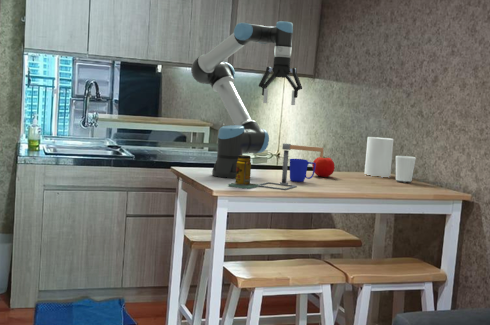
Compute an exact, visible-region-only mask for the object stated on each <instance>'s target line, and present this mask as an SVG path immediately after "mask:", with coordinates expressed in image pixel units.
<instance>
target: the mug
mask: <svg viewBox="0 0 490 325" xmlns="http://www.w3.org/2000/svg"><path fill="white" fill-rule="evenodd" d="M310 164H311V165H312V164H314V169H313V168H312V170H313V171H312V174H311V176H309V177H308V176H307V170H308V165H310ZM315 166H316V163H313V162H312V161H311V162H310V161H309V160H308V159H303V158H289V180H290V181H291V182H295V183H296V182H297V183H301V182H304V181H305V180H306V179H308V180H310V179H312V178H313V177H314V174H315V173H314V172H315Z"/></svg>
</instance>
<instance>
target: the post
mask: <svg viewBox="0 0 490 325" xmlns="http://www.w3.org/2000/svg"><path fill="white" fill-rule="evenodd" d="M283 150H284V149H283ZM289 152H290V150H284V151H283V160H282V174H281V181H280V182H279V184H287V185H289V182H287V180H288V178H287V176H288V167H289V164H288V163H289V154H290V153H289Z"/></svg>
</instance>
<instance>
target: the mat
mask: <svg viewBox="0 0 490 325" xmlns="http://www.w3.org/2000/svg"><path fill="white" fill-rule="evenodd" d="M233 183H236V181H235V182H231V183H228V185H227V187H229V186H233V187H232V188H237V187H239V188H238V189H244V188H247V190H250V189H253V188H259V187H258V184H259V183H254V184H255V185H238V184H233Z"/></svg>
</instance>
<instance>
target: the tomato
mask: <svg viewBox="0 0 490 325" xmlns="http://www.w3.org/2000/svg"><path fill="white" fill-rule="evenodd" d="M313 163H316V166H315V172H314V174H315V175H316V176H318V177H321V178H322V177H323V178H328V177H330V176H332V175H333V173H334V172H335V163H334V160H333V159H332V158H331V157H328V156H323V157H320V156H318V157H316V158H315V159H314V160H313ZM311 165H312V166H311V167H312V170H313V169H314V164H311Z"/></svg>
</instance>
